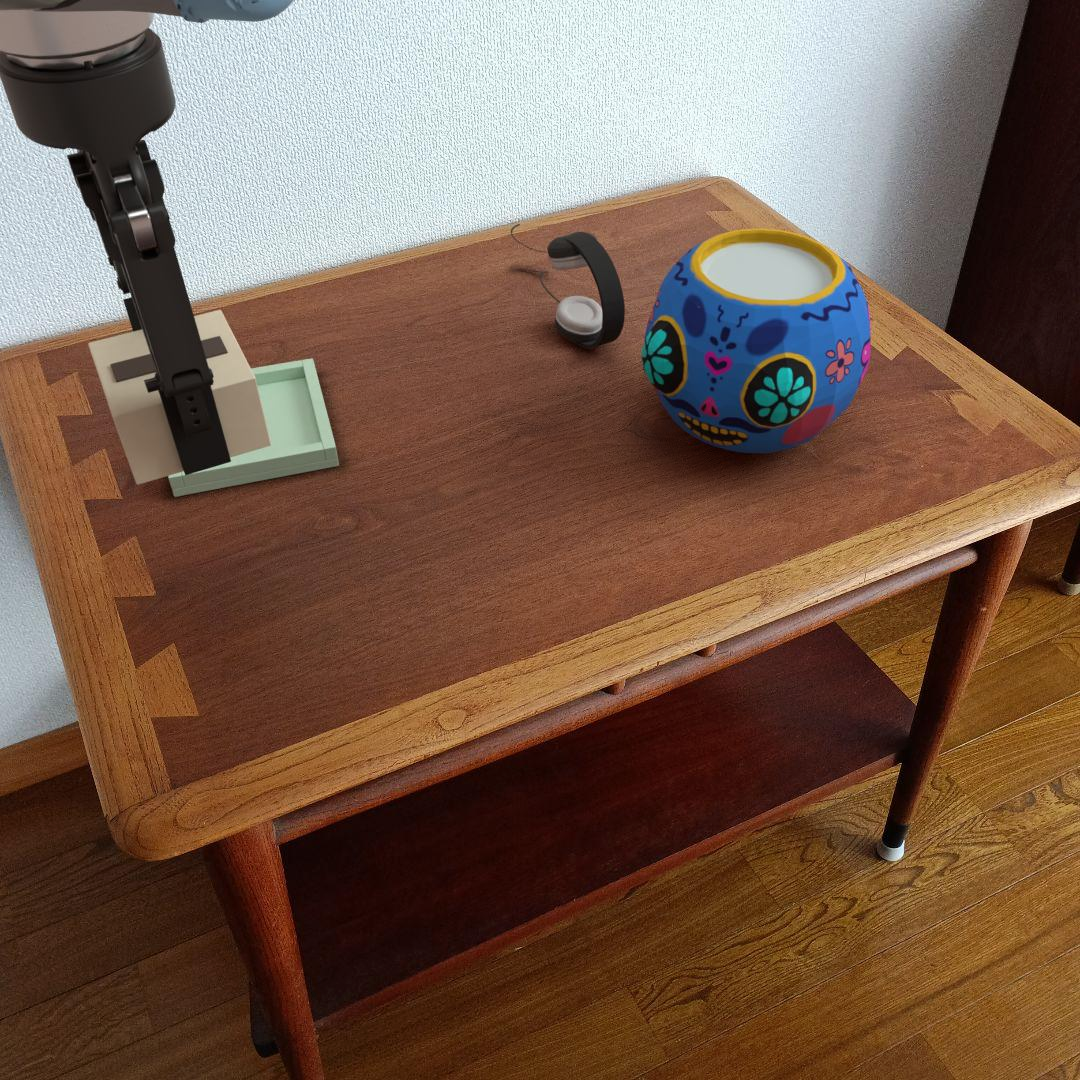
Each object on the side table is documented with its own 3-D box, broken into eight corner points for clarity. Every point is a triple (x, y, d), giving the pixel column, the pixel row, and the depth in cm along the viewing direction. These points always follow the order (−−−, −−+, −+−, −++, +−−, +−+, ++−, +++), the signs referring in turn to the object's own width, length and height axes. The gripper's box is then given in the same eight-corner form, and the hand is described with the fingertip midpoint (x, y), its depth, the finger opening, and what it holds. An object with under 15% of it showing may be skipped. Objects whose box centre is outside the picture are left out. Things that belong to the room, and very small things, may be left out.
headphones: (536, 290, 114) (639, 354, 98) (498, 302, 112) (597, 368, 97) (525, 194, 108) (632, 246, 93) (485, 204, 107) (587, 259, 91)
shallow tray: (316, 376, 98) (312, 357, 97) (339, 466, 89) (335, 446, 88) (166, 402, 96) (160, 383, 94) (174, 497, 87) (168, 477, 85)
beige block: (271, 445, 66) (255, 375, 63) (136, 485, 64) (111, 414, 60) (237, 375, 72) (220, 306, 68) (111, 409, 69) (86, 340, 65)
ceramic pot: (601, 449, 91) (607, 288, 80) (692, 343, 102) (708, 189, 91) (804, 521, 84) (839, 355, 74) (878, 400, 95) (918, 241, 85)
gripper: (210, 104, 46) (299, 507, 62) (115, -38, 60) (208, 323, 75) (22, 141, 44) (165, 550, 60) (-32, -15, 57) (96, 352, 73)
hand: (189, 423), depth 68 cm, fingers closed on beige block, 8 cm apart
